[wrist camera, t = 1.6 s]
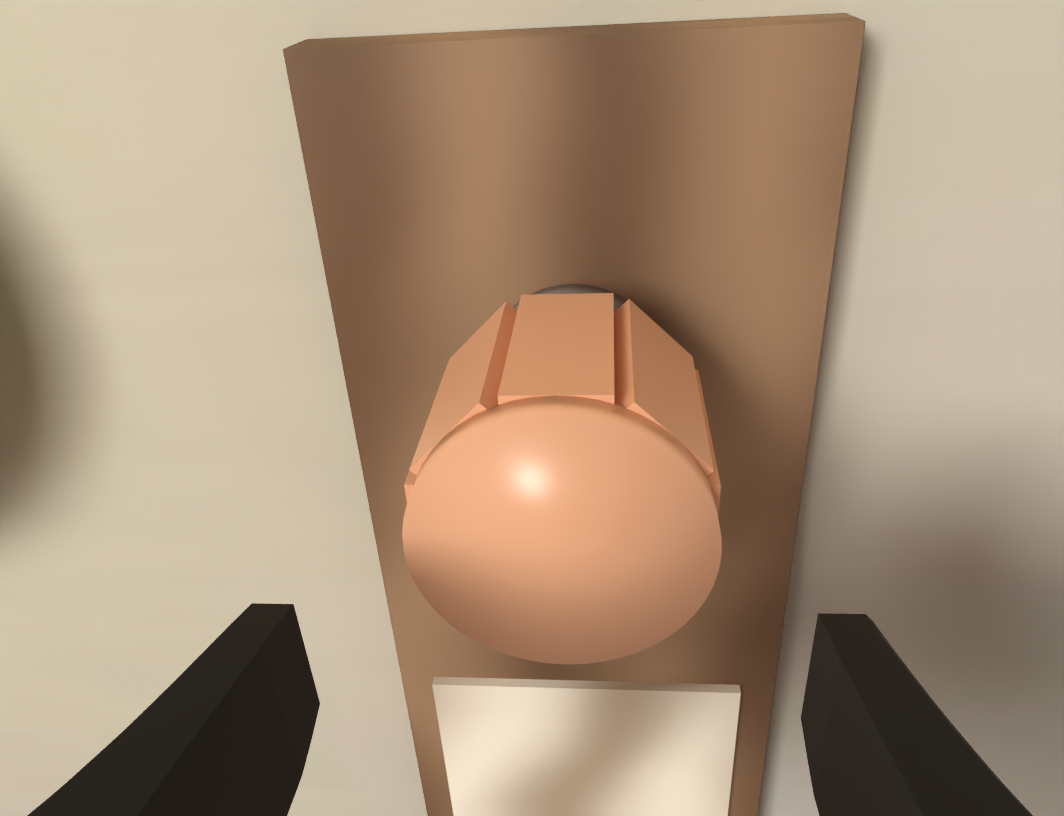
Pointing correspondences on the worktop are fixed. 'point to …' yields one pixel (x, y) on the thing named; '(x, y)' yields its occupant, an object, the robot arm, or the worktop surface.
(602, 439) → the cap
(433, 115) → the board
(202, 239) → the worktop surface
